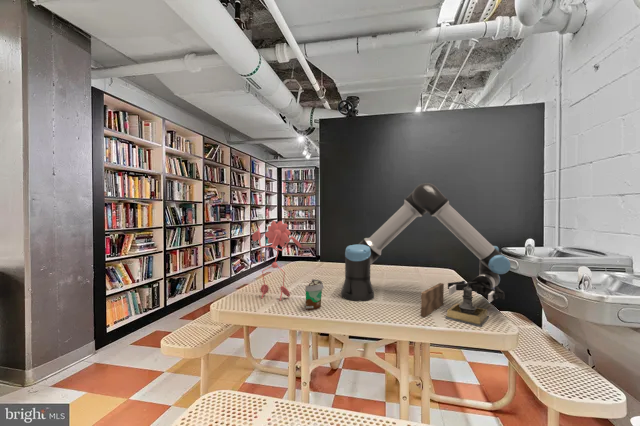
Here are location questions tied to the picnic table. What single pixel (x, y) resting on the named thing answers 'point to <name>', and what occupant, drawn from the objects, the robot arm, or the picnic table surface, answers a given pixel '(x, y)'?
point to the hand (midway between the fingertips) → (468, 294)
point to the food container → (314, 294)
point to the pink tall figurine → (276, 237)
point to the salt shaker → (467, 301)
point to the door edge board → (432, 299)
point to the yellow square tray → (467, 315)
